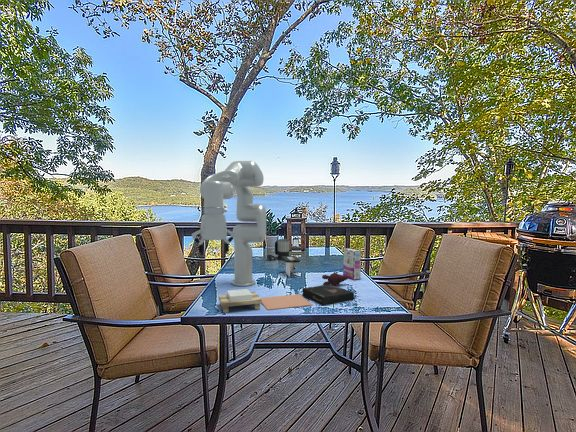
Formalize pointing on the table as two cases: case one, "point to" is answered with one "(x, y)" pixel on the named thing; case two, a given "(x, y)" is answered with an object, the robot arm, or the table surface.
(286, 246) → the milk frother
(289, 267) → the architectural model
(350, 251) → the candy bar box
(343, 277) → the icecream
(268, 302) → the mat
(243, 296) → the coaster
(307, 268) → the table surface
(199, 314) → the table surface
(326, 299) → the portable cd player
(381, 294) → the table surface
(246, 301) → the serving board
